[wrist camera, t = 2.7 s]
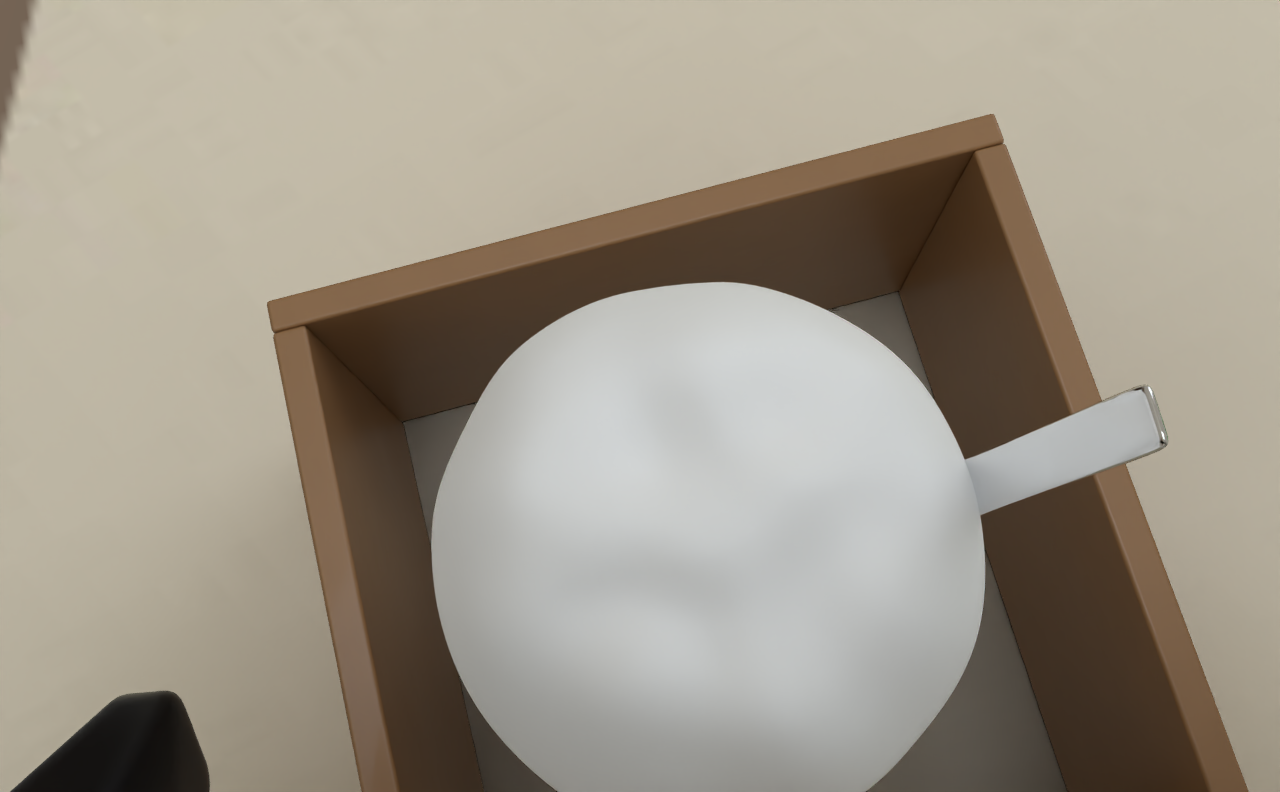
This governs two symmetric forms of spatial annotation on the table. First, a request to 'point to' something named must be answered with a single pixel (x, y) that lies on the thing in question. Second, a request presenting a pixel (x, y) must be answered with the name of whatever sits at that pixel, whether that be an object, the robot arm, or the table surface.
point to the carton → (822, 275)
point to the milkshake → (726, 543)
